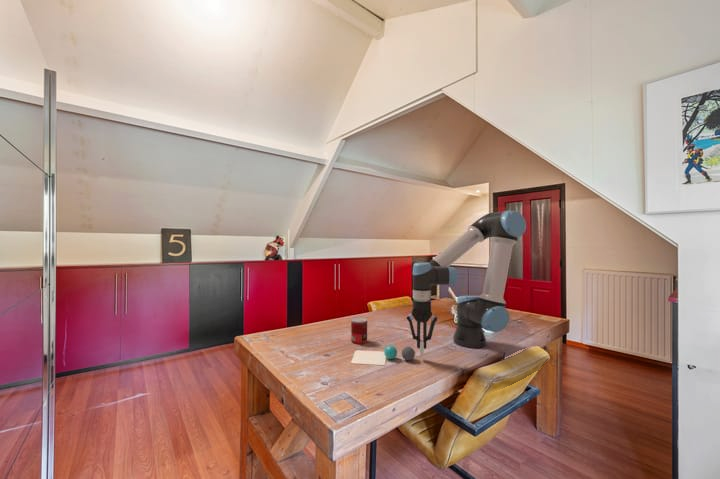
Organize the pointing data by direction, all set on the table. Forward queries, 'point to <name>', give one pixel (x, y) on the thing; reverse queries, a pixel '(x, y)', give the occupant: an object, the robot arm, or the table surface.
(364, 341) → the canned food
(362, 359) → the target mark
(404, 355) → the gray ball
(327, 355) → the table surface
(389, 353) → the object ball
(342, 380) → the table surface
